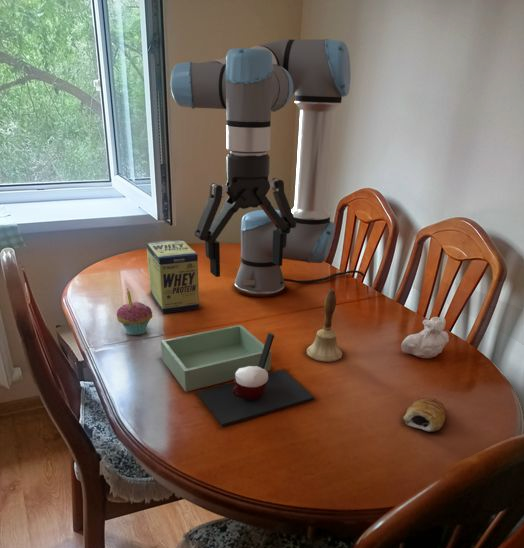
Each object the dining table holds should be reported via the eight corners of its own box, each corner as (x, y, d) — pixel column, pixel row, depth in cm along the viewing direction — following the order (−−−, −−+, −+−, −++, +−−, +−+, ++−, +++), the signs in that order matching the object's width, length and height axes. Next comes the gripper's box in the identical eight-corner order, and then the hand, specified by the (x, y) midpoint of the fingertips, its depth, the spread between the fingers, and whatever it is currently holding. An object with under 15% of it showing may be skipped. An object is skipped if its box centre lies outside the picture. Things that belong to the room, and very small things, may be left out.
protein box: (162, 314, 132) (158, 258, 124) (149, 293, 144) (145, 241, 137) (200, 309, 135) (198, 254, 128) (184, 289, 148) (181, 238, 140)
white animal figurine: (400, 366, 115) (425, 346, 105) (390, 337, 118) (413, 315, 108) (444, 360, 119) (471, 340, 109) (433, 332, 121) (459, 310, 111)
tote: (240, 342, 119) (240, 324, 116) (270, 370, 108) (271, 351, 105) (162, 359, 110) (160, 340, 108) (185, 391, 99) (184, 371, 97)
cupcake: (144, 340, 118) (140, 293, 112) (112, 336, 119) (106, 289, 114) (158, 325, 125) (155, 281, 120) (127, 321, 127) (122, 277, 121)
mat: (283, 371, 107) (283, 369, 107) (313, 399, 98) (314, 397, 98) (197, 393, 98) (197, 391, 98) (222, 426, 89) (222, 424, 89)
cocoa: (234, 408, 94) (235, 352, 88) (225, 390, 99) (224, 337, 93) (280, 399, 97) (283, 345, 91) (268, 383, 102) (271, 330, 96)
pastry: (417, 401, 99) (421, 385, 97) (451, 413, 95) (456, 397, 93) (400, 424, 92) (404, 407, 90) (436, 438, 88) (441, 421, 87)
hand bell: (345, 348, 117) (352, 285, 110) (338, 364, 111) (346, 299, 103) (311, 342, 120) (316, 280, 112) (302, 358, 113) (307, 293, 105)
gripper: (296, 146, 94) (290, 254, 104) (172, 153, 83) (179, 272, 93) (319, 152, 88) (310, 265, 98) (189, 159, 77) (194, 286, 88)
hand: (247, 269), depth 96 cm, fingers open, 13 cm apart
